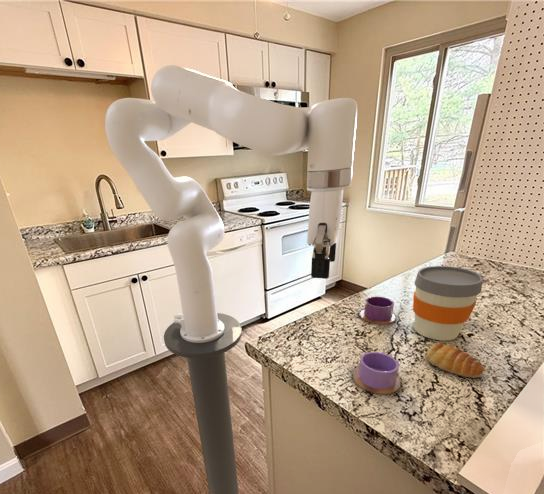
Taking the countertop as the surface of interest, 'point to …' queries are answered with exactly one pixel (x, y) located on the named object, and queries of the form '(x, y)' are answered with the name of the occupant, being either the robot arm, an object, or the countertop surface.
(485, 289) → the countertop surface
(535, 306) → the countertop surface
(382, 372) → the lavender dish
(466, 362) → the pastry
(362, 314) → the far coaster
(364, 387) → the near coaster
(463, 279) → the reusable coffee cup
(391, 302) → the plum dish
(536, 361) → the countertop surface
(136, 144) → the robot arm
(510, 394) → the countertop surface
